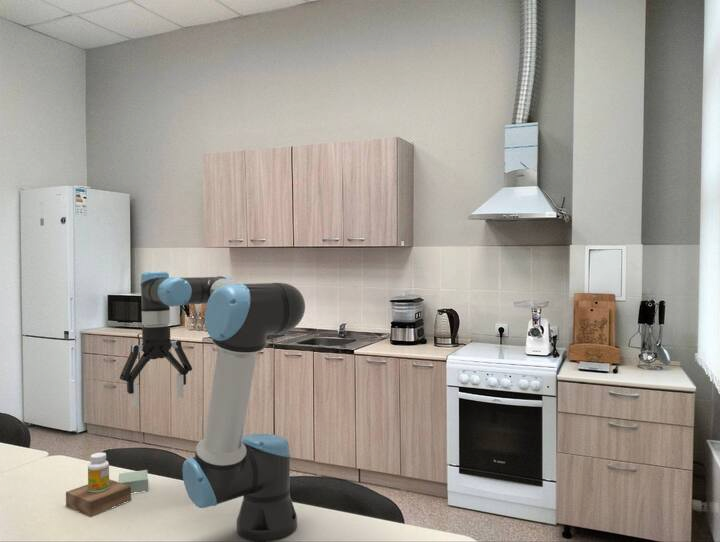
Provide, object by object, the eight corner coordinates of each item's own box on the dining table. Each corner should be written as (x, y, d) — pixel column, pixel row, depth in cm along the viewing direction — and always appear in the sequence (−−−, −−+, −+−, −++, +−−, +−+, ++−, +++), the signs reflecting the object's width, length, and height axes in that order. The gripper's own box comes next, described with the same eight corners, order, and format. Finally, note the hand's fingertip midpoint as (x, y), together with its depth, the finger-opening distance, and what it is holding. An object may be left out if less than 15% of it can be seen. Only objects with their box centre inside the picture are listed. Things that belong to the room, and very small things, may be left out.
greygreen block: (148, 492, 166) (147, 479, 166) (118, 496, 163) (118, 483, 163) (147, 482, 174) (147, 469, 174) (119, 486, 171) (118, 473, 171)
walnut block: (131, 500, 160) (130, 486, 160) (91, 516, 150) (90, 501, 150) (105, 491, 167) (105, 477, 167) (66, 506, 157) (65, 492, 156)
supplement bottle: (83, 491, 157) (83, 456, 157) (100, 484, 162) (100, 450, 162) (96, 494, 155) (96, 459, 154) (113, 487, 159) (113, 453, 159)
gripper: (190, 321, 172) (192, 391, 172) (105, 328, 154) (107, 406, 154) (202, 322, 166) (204, 395, 166) (116, 330, 149) (118, 411, 149)
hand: (158, 400), depth 160 cm, fingers open, 13 cm apart
